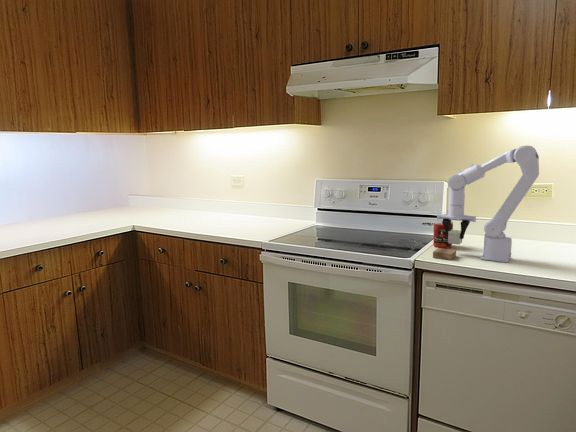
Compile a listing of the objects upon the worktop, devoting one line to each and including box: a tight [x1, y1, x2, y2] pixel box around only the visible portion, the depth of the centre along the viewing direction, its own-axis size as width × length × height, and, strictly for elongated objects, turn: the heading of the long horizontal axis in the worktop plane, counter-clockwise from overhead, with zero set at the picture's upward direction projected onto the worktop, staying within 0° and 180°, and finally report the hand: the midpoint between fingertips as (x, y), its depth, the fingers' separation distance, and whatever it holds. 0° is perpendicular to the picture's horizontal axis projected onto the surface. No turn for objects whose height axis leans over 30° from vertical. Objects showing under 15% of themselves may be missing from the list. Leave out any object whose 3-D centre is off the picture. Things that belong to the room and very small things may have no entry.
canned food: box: [432, 219, 454, 249], centre depth 181 cm, size 8×8×11 cm
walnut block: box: [432, 247, 457, 261], centre depth 165 cm, size 7×7×2 cm
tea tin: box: [448, 229, 463, 245], centre depth 168 cm, size 5×5×5 cm
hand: (455, 238), depth 168 cm, fingers closed on tea tin, 4 cm apart
